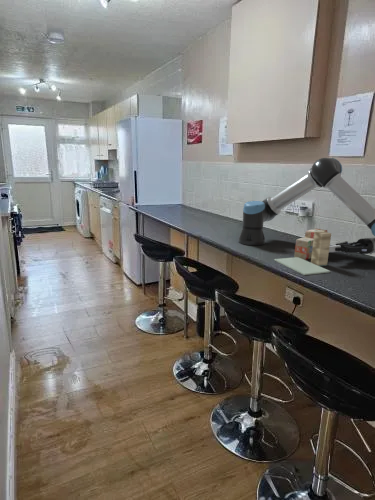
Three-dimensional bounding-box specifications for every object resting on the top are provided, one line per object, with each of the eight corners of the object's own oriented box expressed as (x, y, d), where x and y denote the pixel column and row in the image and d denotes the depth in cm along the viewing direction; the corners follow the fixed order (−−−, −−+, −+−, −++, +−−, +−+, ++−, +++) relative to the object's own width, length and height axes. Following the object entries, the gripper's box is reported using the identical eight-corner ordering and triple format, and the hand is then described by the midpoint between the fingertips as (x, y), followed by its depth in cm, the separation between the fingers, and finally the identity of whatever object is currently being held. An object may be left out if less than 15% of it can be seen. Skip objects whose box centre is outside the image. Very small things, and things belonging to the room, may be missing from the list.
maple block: (310, 263, 153) (314, 231, 149) (319, 262, 154) (323, 231, 150) (318, 266, 148) (322, 234, 144) (326, 265, 150) (331, 233, 146)
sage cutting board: (274, 260, 156) (274, 259, 156) (297, 258, 160) (297, 257, 160) (304, 275, 136) (304, 273, 136) (330, 272, 140) (330, 271, 140)
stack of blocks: (305, 260, 158) (308, 235, 154) (293, 257, 162) (296, 233, 159) (324, 252, 172) (327, 229, 169) (313, 250, 177) (315, 227, 173)
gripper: (377, 257, 153) (337, 260, 146) (355, 250, 165) (317, 253, 158) (380, 241, 151) (339, 244, 144) (357, 235, 163) (319, 238, 156)
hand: (328, 249), depth 151 cm, fingers closed
